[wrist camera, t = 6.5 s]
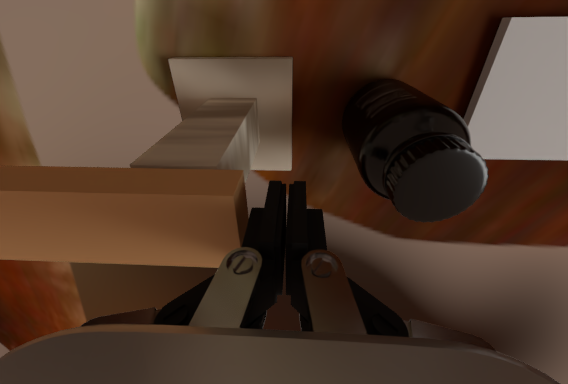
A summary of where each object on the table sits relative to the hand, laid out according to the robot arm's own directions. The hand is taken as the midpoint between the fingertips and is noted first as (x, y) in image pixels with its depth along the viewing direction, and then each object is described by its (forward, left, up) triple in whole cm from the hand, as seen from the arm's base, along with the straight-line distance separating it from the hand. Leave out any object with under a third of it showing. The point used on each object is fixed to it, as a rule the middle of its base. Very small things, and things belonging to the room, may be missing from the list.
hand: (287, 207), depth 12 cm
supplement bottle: (0, +8, -14) cm, 16 cm away
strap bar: (0, -14, 0) cm, 14 cm away
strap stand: (0, -5, -14) cm, 15 cm away
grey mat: (-2, +21, -14) cm, 25 cm away
